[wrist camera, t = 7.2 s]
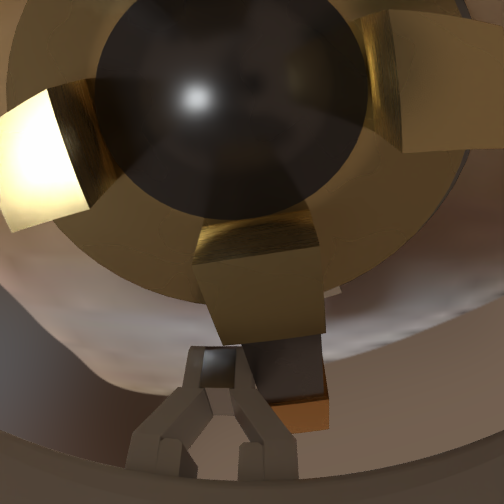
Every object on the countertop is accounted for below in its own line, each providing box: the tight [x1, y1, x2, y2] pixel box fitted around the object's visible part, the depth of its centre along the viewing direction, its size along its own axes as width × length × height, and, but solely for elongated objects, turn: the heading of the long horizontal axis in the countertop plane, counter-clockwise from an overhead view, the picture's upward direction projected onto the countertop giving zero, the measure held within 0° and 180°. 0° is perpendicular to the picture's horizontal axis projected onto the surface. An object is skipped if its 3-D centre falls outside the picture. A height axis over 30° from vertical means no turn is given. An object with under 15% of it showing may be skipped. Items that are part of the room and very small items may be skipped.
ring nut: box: [0, 0, 504, 434], centre depth 7 cm, size 16×9×4 cm, turn 11°
